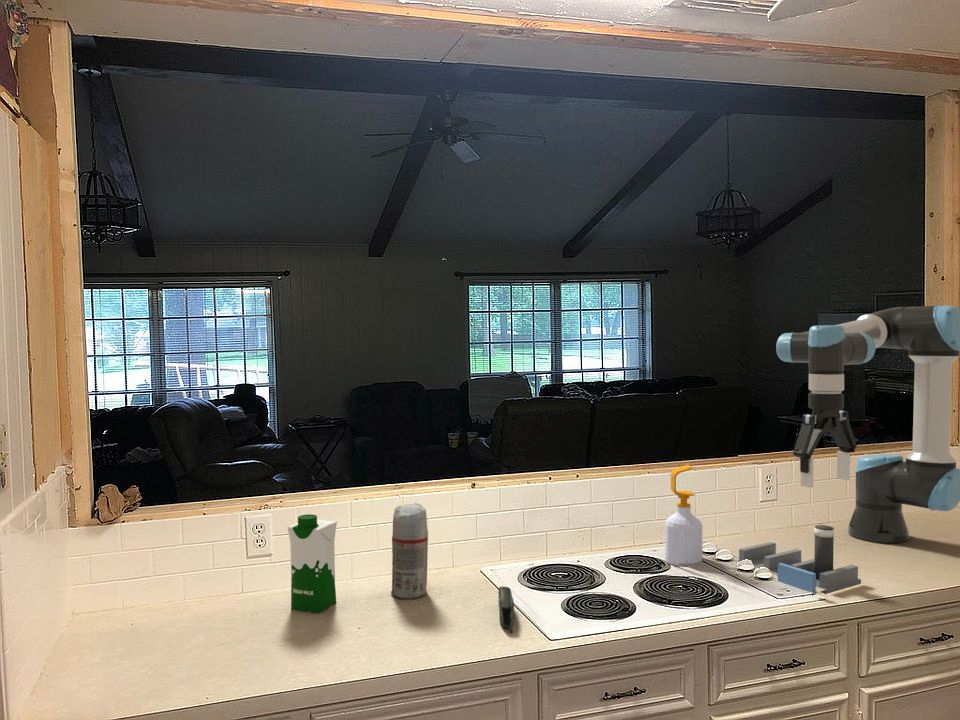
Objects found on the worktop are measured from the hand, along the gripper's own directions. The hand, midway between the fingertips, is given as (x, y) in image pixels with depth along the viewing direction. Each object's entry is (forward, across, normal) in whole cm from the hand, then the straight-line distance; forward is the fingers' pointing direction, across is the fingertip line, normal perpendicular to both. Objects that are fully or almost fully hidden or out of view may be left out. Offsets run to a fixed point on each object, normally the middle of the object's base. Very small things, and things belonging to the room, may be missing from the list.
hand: (825, 483), depth 177 cm
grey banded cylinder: (+22, +1, +1) cm, 22 cm away
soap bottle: (+23, +17, -28) cm, 40 cm away
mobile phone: (+23, +76, -20) cm, 82 cm away
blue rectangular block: (+23, +11, 0) cm, 26 cm away
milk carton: (+22, +107, -49) cm, 119 cm away
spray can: (+22, +86, -44) cm, 99 cm away
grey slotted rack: (+23, +1, -7) cm, 24 cm away
